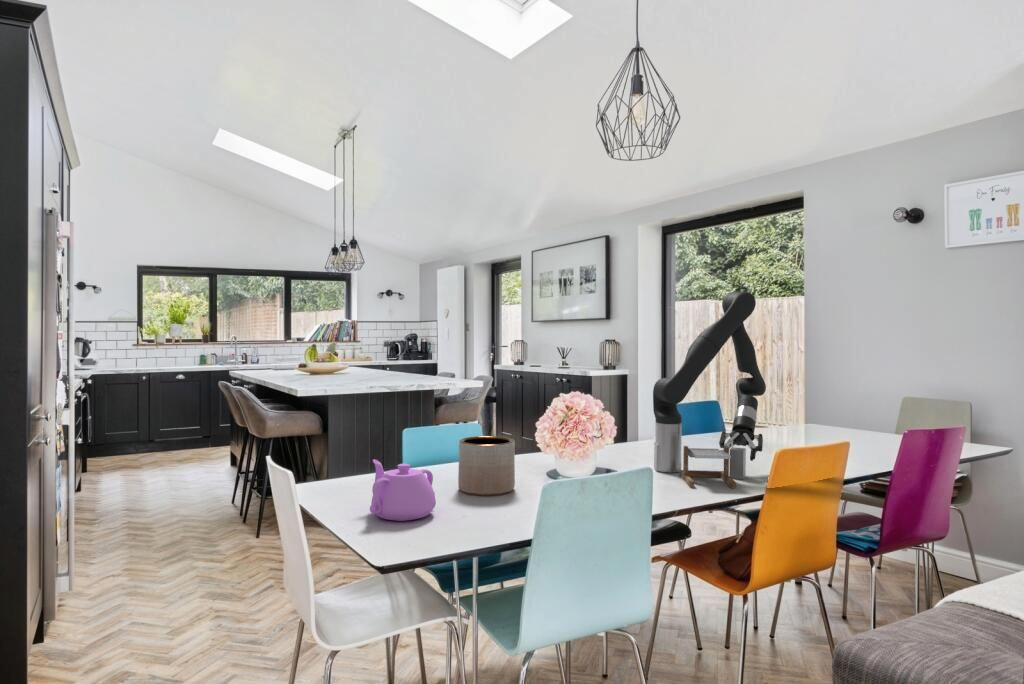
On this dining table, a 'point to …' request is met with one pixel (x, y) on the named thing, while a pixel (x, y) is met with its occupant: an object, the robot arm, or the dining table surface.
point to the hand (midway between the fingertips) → (738, 458)
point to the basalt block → (737, 463)
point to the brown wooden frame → (687, 473)
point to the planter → (486, 465)
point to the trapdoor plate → (708, 453)
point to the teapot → (402, 493)
